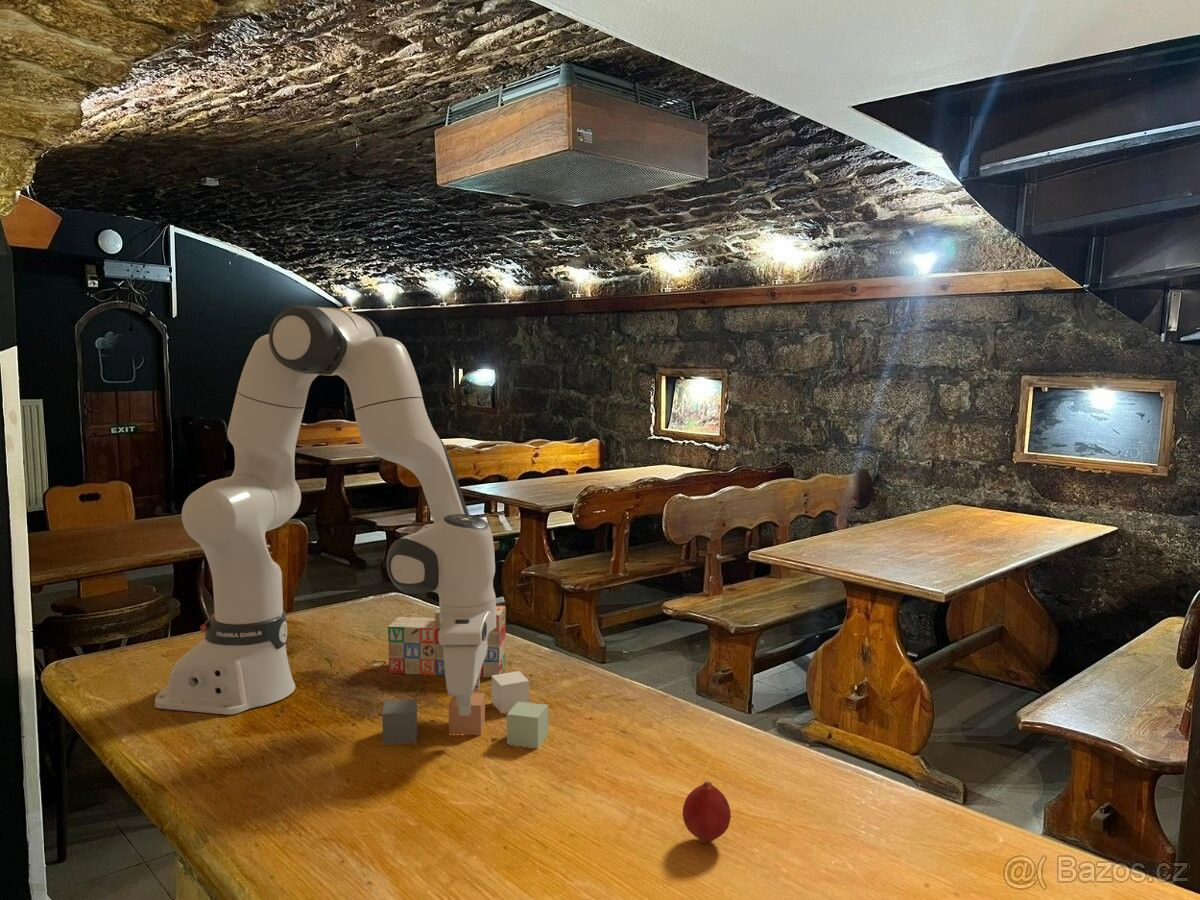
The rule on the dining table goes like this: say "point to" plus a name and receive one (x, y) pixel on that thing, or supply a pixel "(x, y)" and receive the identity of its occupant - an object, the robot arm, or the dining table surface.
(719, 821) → the onion
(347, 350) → the robot arm
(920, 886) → the dining table surface
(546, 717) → the sage green cube
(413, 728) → the charcoal cube
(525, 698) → the off-white cube
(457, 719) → the terracotta cube
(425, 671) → the stack of blocks
